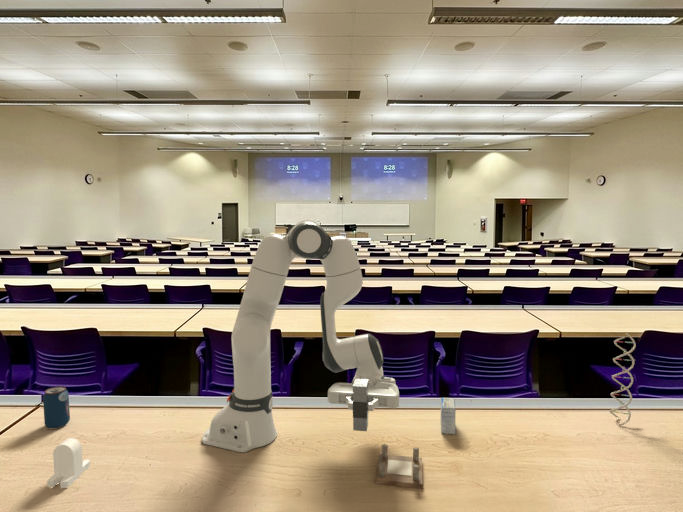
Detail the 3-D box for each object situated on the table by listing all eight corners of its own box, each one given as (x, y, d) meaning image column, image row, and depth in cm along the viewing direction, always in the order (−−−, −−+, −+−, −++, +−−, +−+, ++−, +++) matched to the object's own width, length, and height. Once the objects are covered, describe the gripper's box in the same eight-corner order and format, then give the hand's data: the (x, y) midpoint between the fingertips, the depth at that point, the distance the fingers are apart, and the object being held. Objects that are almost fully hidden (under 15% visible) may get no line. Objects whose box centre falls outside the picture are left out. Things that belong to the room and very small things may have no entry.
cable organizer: (46, 488, 108) (44, 451, 107) (72, 466, 118) (70, 431, 117) (67, 489, 108) (64, 451, 107) (91, 466, 118) (89, 431, 117)
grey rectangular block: (352, 431, 114) (352, 386, 113) (355, 422, 119) (355, 378, 118) (366, 433, 114) (366, 386, 112) (368, 423, 119) (368, 379, 117)
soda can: (74, 423, 142) (72, 388, 141) (51, 432, 136) (48, 395, 135) (63, 417, 146) (61, 383, 145) (40, 426, 140) (38, 390, 139)
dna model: (608, 416, 148) (614, 331, 146) (631, 421, 145) (637, 334, 142) (607, 423, 143) (613, 335, 140) (630, 429, 139) (636, 338, 136)
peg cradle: (375, 483, 111) (375, 466, 110) (379, 457, 122) (379, 442, 122) (422, 488, 109) (423, 471, 108) (421, 461, 120) (422, 446, 120)
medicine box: (455, 435, 135) (456, 408, 135) (440, 433, 136) (441, 407, 135) (453, 423, 143) (454, 398, 142) (440, 422, 144) (440, 397, 143)
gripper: (332, 374, 130) (322, 393, 116) (400, 379, 127) (398, 398, 113) (332, 394, 131) (322, 415, 117) (400, 399, 127) (398, 421, 114)
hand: (360, 407), depth 115 cm, fingers closed on grey rectangular block, 4 cm apart
